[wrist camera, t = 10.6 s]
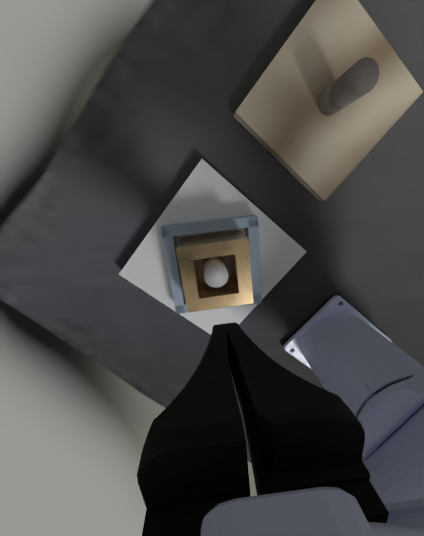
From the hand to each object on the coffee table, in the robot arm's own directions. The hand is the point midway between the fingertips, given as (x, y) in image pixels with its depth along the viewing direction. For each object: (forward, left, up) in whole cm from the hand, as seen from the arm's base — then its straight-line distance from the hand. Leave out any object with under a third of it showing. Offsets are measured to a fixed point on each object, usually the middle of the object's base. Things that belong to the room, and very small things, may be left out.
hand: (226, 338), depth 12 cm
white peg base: (+1, -1, -9) cm, 10 cm away
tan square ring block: (+2, -1, -8) cm, 9 cm away
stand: (+2, -16, -9) cm, 19 cm away
